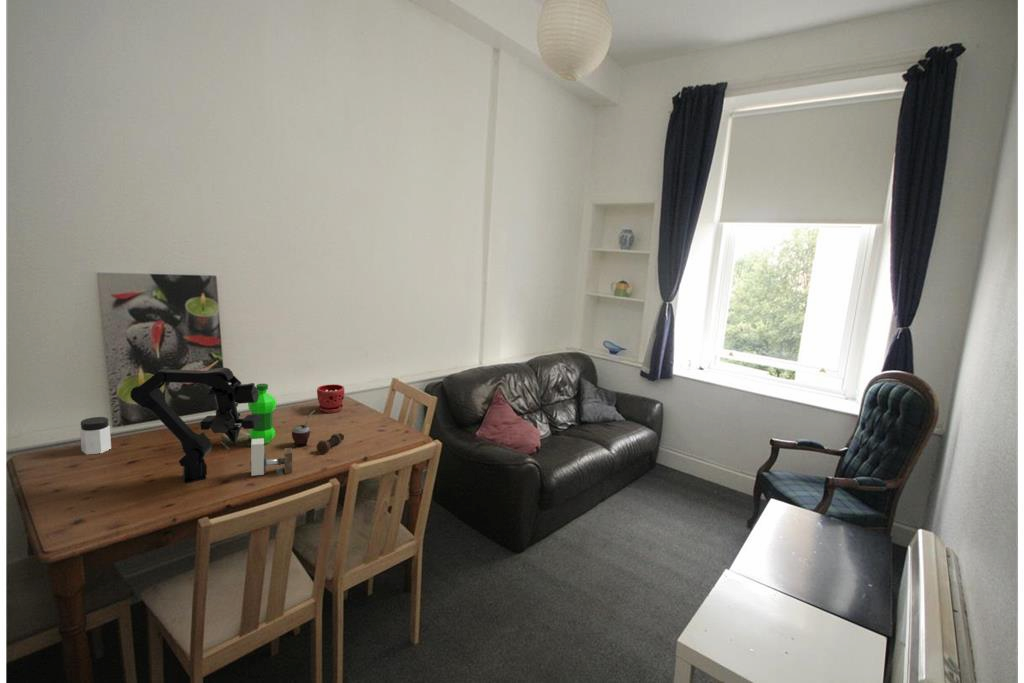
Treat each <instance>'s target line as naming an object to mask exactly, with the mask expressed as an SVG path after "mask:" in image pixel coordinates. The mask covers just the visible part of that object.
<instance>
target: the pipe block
mask: <svg viewBox="0 0 1024 683" xmlns="http://www.w3.org/2000/svg"><path fill="white" fill-rule="evenodd" d="M283 454H284V457H283V458H285V464H283V465H284V467H276V475H277V474H278V475H283V473H284V474H286V473H288V474H293V449H292V447H287V448H284V453H283ZM283 468H284V470H283ZM283 471H284V472H283Z"/></svg>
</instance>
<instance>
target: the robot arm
mask: <svg viewBox="0 0 1024 683" xmlns="http://www.w3.org/2000/svg"><path fill="white" fill-rule="evenodd" d="M166 383H178V384H179V383H180V384H202V385H204V386H207V387H210V390H209V391H207V393H206V395H208V396H212V395H214V399H215V403H216V407H217V408H216V409H215V415H207V416H206V417H204V418H203V419H202V420H201V421H200V422H199V429H200V430H201V433H197V432H194V431H193V430H192V429H191V428H190V427H189V425H188V424H186V422H185V421H184V420H183V419H182V418H181V417H180V416H179V415H178V414H177V412H176V411H174V409H173V408H172V407H171V406H170V405H169V404H168V403H167V402H166V401H165V398H164V394H163V391H162V390H161V388H163V386H164V385H165V384H166ZM130 398H131V400H132V401H133V402H135V404H137V405H138V406H140V407H141V408H144V409H146V410H150V411H151V412H152V413H153V414H154V415H155V417H156V418H158V419H159V420H160V421H161V423H163V425H164V426H165V427H166V428H167V429H168V430H169V431H170V432H171V433H172V435H173V436H175V437H176V438H177V439H178V441H179V443H180V444H181V447H182V451H183V452H184V454H185V455H184V456H182V458H180V459H179V460H178V462H179V465H180V466H181V467H182V479H183V481H184V483H185V484H187V483H191V482H198V481H201V480H206V479H207V475H208V471H207V470H208V469H207V467H208V466H207V462H206V461H205V457H206V458H207V455H208V454H209V453H210V452H211V451H212V448H213V444H212V443H211V441H212V439H210V438H208V436H207V435H206V433H204V432H202V431H205V430H206V431H207V430H210V429H211V431H212V433H213V434H219V433H220V434H225V435H226V437H227V438H228V439H229V441H231V443H232V444H237V442H238V438H239V434H240V431H241V429H242V428H243V429H244V430H251V429H253V428H255V426H256V425H257V424H258V423H259V422H260V417H259V416H258V415H252V414H247V415H246V416H245V417H241V413H240V412H238V408H237V407H238V406H239V404H248V403H256V402H257V401H258V390H257V388H256V385H255V383H254V382H250V383H246V384H245V383H243V384H242V381H240V379H238V378H237V376H235V375H234V373H233V371H232V370H231V369H230V368H228V367H217V368H211V369H208V370H193V369H191V370H190V369H186V370H185V369H169V368H162V369H160V370H158V371H156V372H155V373H154V374H153V375H152V376H151V377H150V378H149V379H147V380H146V381H145V382H143V383H141V384H139V385H137V386H135V387H133V388H132V389H131V391H130Z"/></svg>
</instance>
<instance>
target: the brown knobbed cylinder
mask: <svg viewBox="0 0 1024 683" xmlns="http://www.w3.org/2000/svg"><path fill="white" fill-rule="evenodd" d="M344 439H345V435H344V434H342V433H333V434H332V435H331V437H330V438H329V439H327V440H321V439H320V440H319V441H318V443H317V444H316V445H315V446H316V450H317V452H318V453H319V452H320V454H325V453H326V454H328V453H329V451H330V450H331V448H332V447H333V446H339V445H340V444H341V442H342V441H343V440H344ZM338 444H339V445H338Z"/></svg>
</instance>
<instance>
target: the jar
mask: <svg viewBox="0 0 1024 683" xmlns="http://www.w3.org/2000/svg"><path fill="white" fill-rule="evenodd" d="M79 431H80V446H81V447H80V448H81V452H82V453H84V455H88V456H89V455H98V454H99V453H100V454H103V453H106V452H107V451H109V449H110V450H111V449H112V441H111V440H112V439H111V426H110V425H109V418H107V417H105V416H93V417H89V418H85V419H82V420H81V421H80V428H79Z"/></svg>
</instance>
